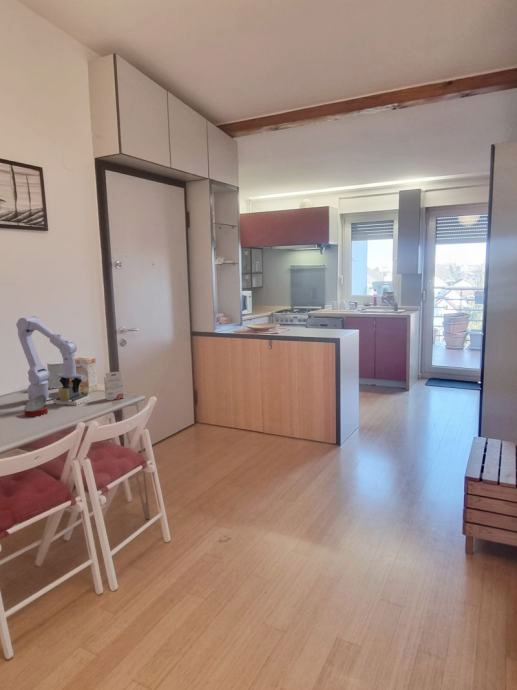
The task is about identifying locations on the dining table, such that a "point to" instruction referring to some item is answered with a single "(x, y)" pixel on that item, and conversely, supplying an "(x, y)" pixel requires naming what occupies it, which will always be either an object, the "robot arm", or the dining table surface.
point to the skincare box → (55, 374)
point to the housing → (68, 393)
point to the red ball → (36, 407)
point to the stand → (73, 400)
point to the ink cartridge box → (113, 386)
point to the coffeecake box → (86, 373)
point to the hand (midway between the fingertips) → (71, 392)
